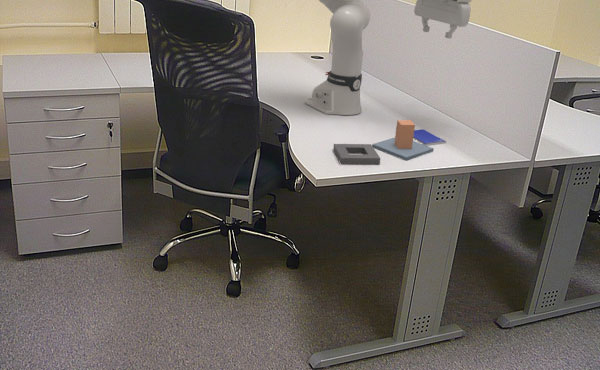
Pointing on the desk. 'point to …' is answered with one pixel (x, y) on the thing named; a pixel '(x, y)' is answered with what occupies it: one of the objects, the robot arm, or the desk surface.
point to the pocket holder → (346, 158)
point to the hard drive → (427, 138)
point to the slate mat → (404, 154)
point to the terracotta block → (404, 134)
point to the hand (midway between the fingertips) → (436, 34)
